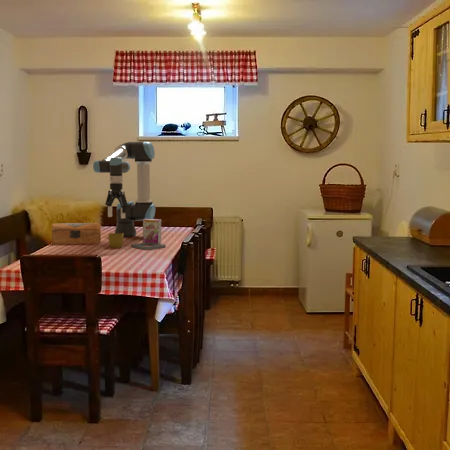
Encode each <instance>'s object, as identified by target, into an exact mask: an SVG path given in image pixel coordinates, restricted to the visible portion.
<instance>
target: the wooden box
mask: <svg viewBox="0 0 450 450" xmlns="http://www.w3.org/2000/svg"><path fill="white" fill-rule="evenodd" d="M101 227H102V225H101V223H99V222H95V223H93V222H90V223H89V222H87V223H84V222H83V223H81V222H77V223H75V222H74V223H73V222H71V223H69V222H68V223H67V222H65V223H62V222H61V223H52V225H51V236H52V238H51V239H52V245H74V244H76V245H77V244H78V245H83V244H85V245H86V244H101V243H102V241H101V240H102V234H101V233H102V231H101V230H102V229H101Z"/></svg>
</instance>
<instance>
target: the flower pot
mask: <svg viewBox="0 0 450 450" xmlns="http://www.w3.org/2000/svg"><path fill="white" fill-rule="evenodd" d="M107 237H108V243H109V246H110V248H113V249H115V248H118V249H119V248H121V247H122V246H123V243H124V237H125V236H124V233H115V232H110V233H109V234H108V236H107Z"/></svg>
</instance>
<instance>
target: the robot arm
mask: <svg viewBox="0 0 450 450" xmlns="http://www.w3.org/2000/svg"><path fill="white" fill-rule="evenodd" d="M128 159H129V160H130V159H131V160H134V163H135V164H136V177H137V178H136V180H137V182H136V183H137V192H136V193H137V199H136V200H135V202H134V201H127V198H126V194H125V191H124V190H123V174H126V173H128V172H129V171H130V169H131V165H130V163H129V162H128V161H126V160H128ZM153 159H155V148H154V145H153V143H152V142H151V141H150V142H149V141H128V142H124V143H122V144H119V145H118V146H117V147H115V148H114V150H113V152H110V153H109V154H108V155H107V156H106V157H104V158H103V159H102V160H99V159H98V160H95V161H93V164H92V167H93V172H94V173H97V174H98V173H99V174H101V173H102V174H109V189H110V190H108V192H107V196H106V200H105V203H104V204H105V206H106V207H107V217H108V218H112V217H113V203H114V201H115V199H117V200H118V203H117V205H116V226H115V229H114V233H124V237H135V236H137V231H136V227H135V222H136V221H141V222H143V219H155V215H156V205H155V204H154V203H153V200H152V199H151V175H150V172H151V170H150V168H151V166H150V164H151V163H152V162H153V161H152V160H153Z"/></svg>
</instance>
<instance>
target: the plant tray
mask: <svg viewBox="0 0 450 450" xmlns="http://www.w3.org/2000/svg"><path fill="white" fill-rule="evenodd" d="M166 245H167V244H165V243H164V244H163V243H159V244H158V243H152V242H149V243H143V242H142V243H141V242H140V243H139V242H138V243H134V244H133V243H131V244H130V247H131V248H135V249H139V250H144V251H148V250H156V249H163V248H166V247H167V246H166Z"/></svg>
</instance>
